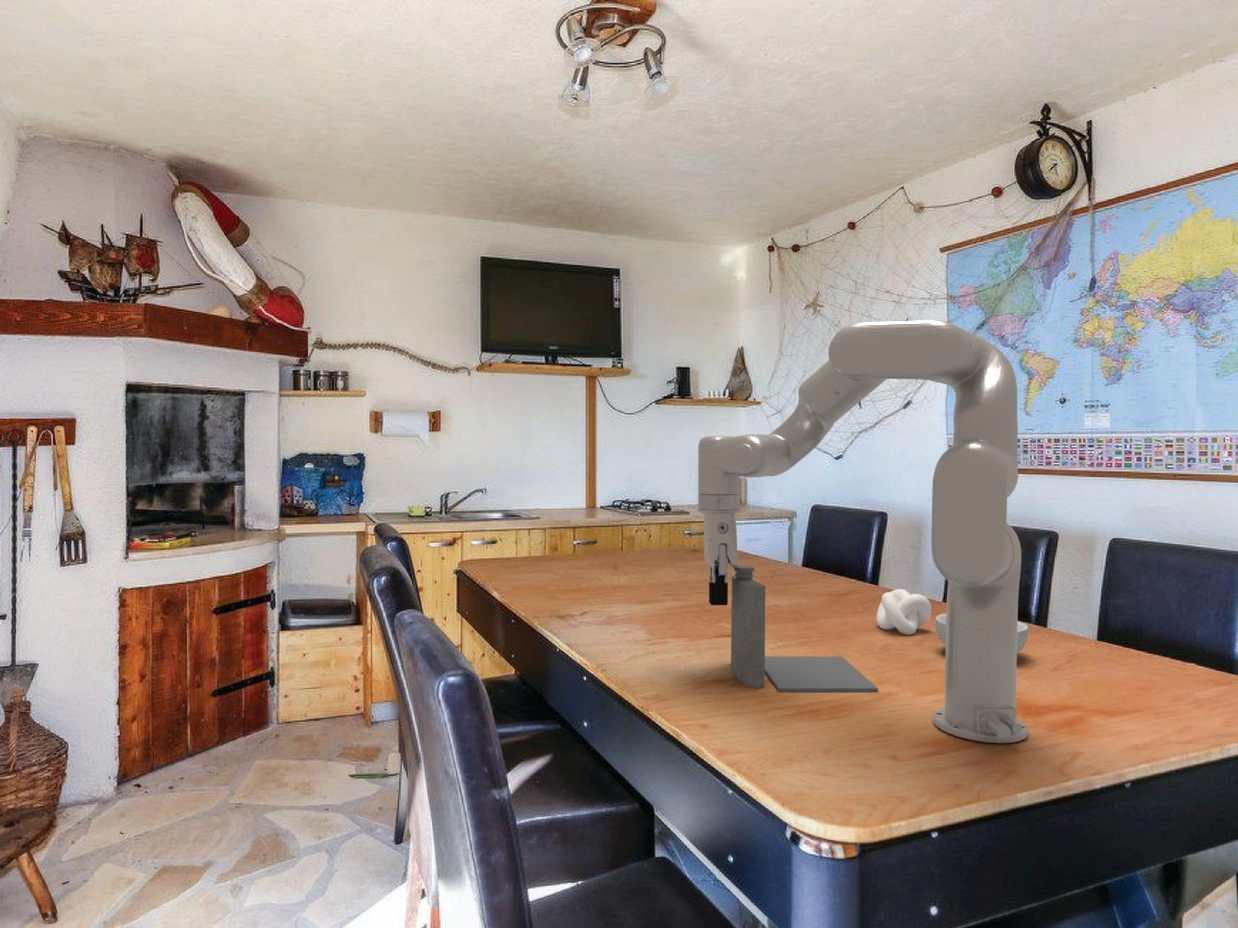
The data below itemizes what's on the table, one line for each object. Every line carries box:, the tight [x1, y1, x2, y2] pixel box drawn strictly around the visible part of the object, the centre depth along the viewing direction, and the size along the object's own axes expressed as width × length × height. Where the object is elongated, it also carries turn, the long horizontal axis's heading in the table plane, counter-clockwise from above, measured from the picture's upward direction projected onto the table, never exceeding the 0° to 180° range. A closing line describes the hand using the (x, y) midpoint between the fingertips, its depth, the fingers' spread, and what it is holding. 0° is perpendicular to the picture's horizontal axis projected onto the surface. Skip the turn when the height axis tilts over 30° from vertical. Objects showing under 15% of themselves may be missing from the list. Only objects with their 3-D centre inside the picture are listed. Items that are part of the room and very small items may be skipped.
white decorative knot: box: [875, 588, 932, 636], centre depth 174 cm, size 11×12×9 cm
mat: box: [765, 655, 879, 693], centre depth 139 cm, size 20×17×1 cm
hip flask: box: [730, 564, 766, 689], centre depth 139 cm, size 16×4×20 cm, turn 3°
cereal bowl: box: [934, 613, 1029, 654], centre depth 153 cm, size 17×17×7 cm
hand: (718, 604), depth 139 cm, fingers closed
